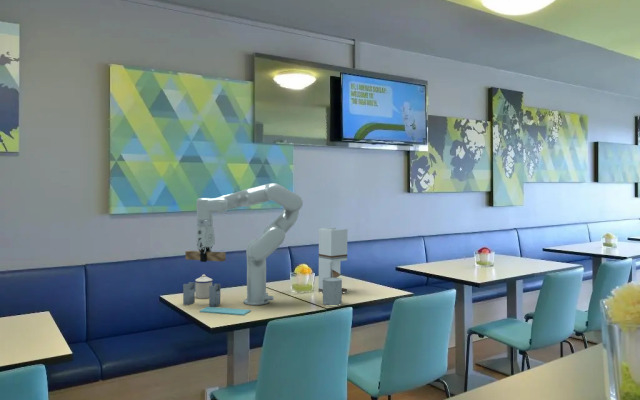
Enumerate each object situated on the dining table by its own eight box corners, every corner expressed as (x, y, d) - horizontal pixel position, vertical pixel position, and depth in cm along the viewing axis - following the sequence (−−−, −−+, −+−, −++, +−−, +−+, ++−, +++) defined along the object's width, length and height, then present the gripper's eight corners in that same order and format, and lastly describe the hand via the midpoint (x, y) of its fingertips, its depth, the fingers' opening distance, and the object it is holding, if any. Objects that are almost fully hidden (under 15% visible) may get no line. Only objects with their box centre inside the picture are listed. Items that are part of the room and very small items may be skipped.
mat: (250, 311, 235) (250, 309, 235) (243, 315, 227) (243, 314, 227) (207, 307, 240) (207, 306, 240) (199, 312, 233) (199, 310, 233)
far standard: (194, 302, 252) (194, 282, 251) (188, 305, 246) (188, 284, 246) (189, 302, 252) (189, 282, 252) (183, 304, 247) (183, 284, 246)
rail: (225, 260, 244) (225, 252, 243) (222, 261, 241) (222, 253, 240) (189, 258, 249) (188, 250, 249) (185, 259, 246) (185, 251, 246)
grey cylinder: (328, 307, 244) (328, 281, 244) (319, 302, 252) (319, 278, 252) (345, 304, 248) (345, 280, 248) (335, 300, 257) (336, 276, 256)
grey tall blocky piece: (331, 295, 269) (331, 230, 268) (318, 292, 278) (318, 228, 276) (346, 292, 276) (347, 229, 275) (334, 289, 285) (334, 227, 284)
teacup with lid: (214, 298, 262) (214, 275, 261) (196, 299, 258) (196, 276, 258) (209, 293, 273) (209, 271, 272) (192, 294, 269) (192, 273, 269)
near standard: (220, 304, 248) (220, 284, 248) (214, 307, 242) (214, 286, 242) (214, 303, 249) (214, 283, 248) (209, 306, 243) (209, 286, 243)
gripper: (203, 224, 235) (203, 264, 236) (220, 222, 251) (220, 258, 252) (188, 224, 238) (189, 263, 238) (206, 221, 253) (207, 258, 254)
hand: (205, 260), depth 245 cm, fingers closed on rail, 3 cm apart
